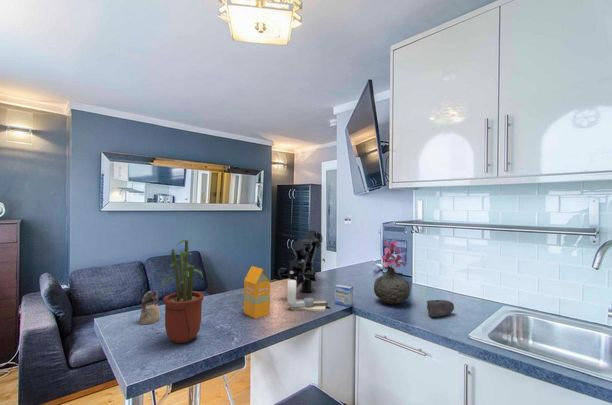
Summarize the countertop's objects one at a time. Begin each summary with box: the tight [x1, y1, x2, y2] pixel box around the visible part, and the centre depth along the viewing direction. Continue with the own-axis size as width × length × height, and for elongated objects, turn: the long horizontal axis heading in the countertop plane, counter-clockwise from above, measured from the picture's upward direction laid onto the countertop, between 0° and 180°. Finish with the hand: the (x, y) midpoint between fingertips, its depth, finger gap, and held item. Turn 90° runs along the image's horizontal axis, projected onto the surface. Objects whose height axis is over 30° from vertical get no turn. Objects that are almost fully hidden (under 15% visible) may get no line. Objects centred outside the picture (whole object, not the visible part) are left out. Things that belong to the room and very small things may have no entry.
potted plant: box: [155, 239, 205, 344], centre depth 103 cm, size 17×16×35 cm
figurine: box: [139, 290, 161, 325], centre depth 117 cm, size 7×7×12 cm
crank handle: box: [286, 279, 329, 307], centre depth 134 cm, size 19×4×12 cm, turn 100°
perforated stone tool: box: [426, 299, 455, 318], centre depth 128 cm, size 15×5×7 cm, turn 109°
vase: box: [373, 240, 411, 306], centre depth 143 cm, size 17×17×30 cm
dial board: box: [290, 298, 333, 313], centre depth 136 cm, size 12×19×1 cm, turn 84°
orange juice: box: [243, 265, 271, 319], centre depth 126 cm, size 8×9×20 cm
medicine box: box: [334, 284, 354, 308], centre depth 140 cm, size 8×4×9 cm, turn 62°
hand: (293, 290), depth 138 cm, fingers closed
